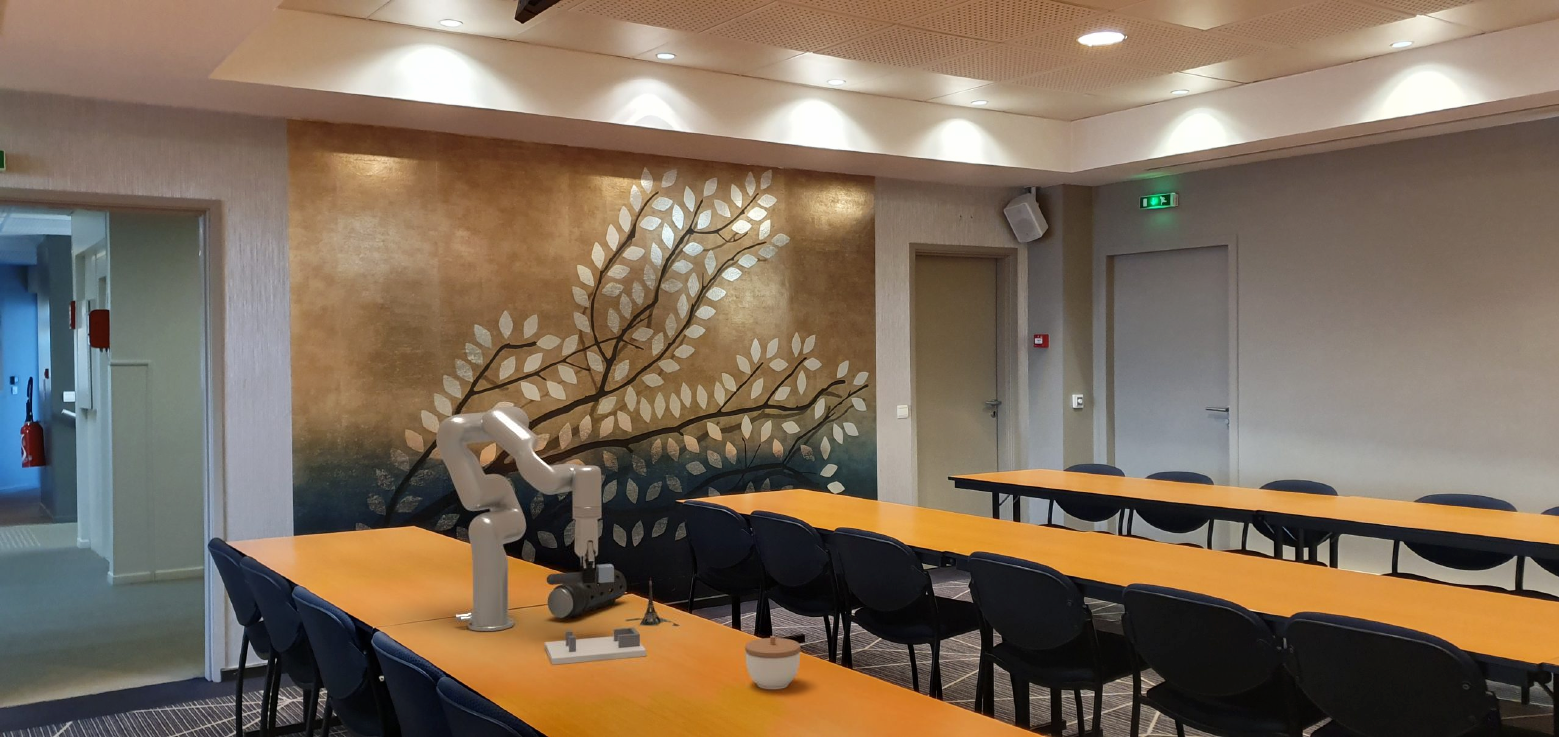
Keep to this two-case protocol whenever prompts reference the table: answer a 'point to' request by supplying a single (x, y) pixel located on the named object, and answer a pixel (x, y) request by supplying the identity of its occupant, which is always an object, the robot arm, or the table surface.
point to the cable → (601, 575)
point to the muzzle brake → (585, 596)
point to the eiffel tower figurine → (651, 614)
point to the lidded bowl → (772, 661)
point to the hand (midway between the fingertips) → (587, 580)
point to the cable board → (596, 647)
